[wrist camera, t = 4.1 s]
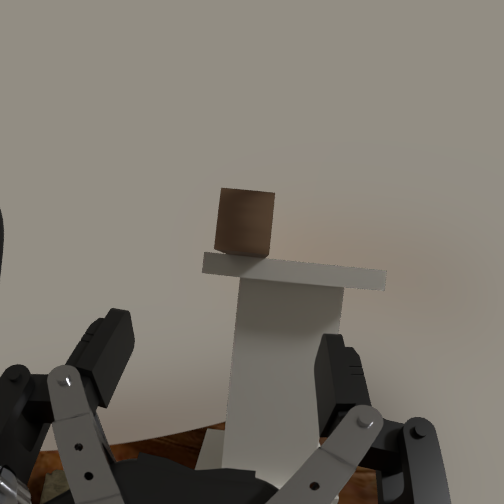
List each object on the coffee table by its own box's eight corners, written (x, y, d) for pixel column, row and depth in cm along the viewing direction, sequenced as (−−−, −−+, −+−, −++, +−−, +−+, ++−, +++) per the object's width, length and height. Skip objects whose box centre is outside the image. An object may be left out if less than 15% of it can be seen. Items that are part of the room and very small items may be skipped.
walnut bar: (214, 248, 21) (221, 187, 21) (237, 258, 46) (240, 229, 46) (268, 254, 21) (275, 192, 21) (262, 260, 46) (264, 232, 46)
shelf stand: (188, 500, 30) (204, 251, 31) (206, 438, 47) (222, 256, 48) (335, 509, 29) (386, 270, 30) (314, 446, 46) (343, 269, 47)
